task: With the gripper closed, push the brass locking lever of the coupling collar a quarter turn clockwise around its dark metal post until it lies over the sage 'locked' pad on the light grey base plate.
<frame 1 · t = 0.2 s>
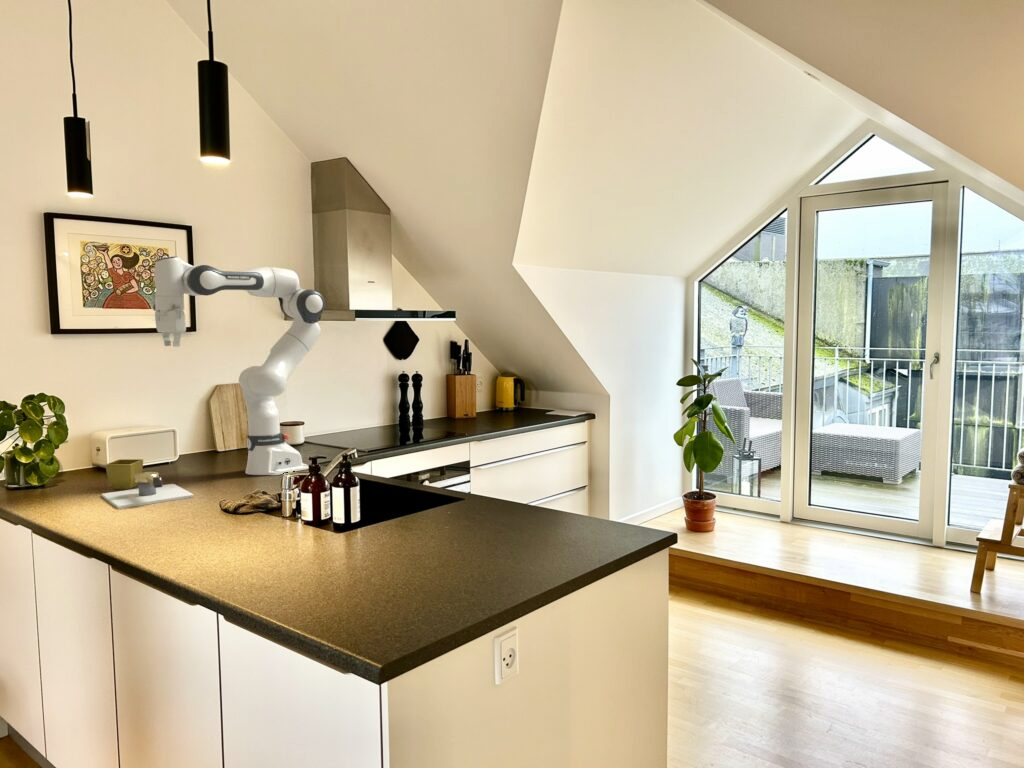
hand: (171, 346, 256), 47 cm above the countertop, fingers open, 8 cm apart
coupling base: (147, 496, 242), on the countertop
locking lever: (151, 478, 238), point 7 cm above the countertop, hinge at 0.0°
flower pot: (126, 488, 256), on the countertop
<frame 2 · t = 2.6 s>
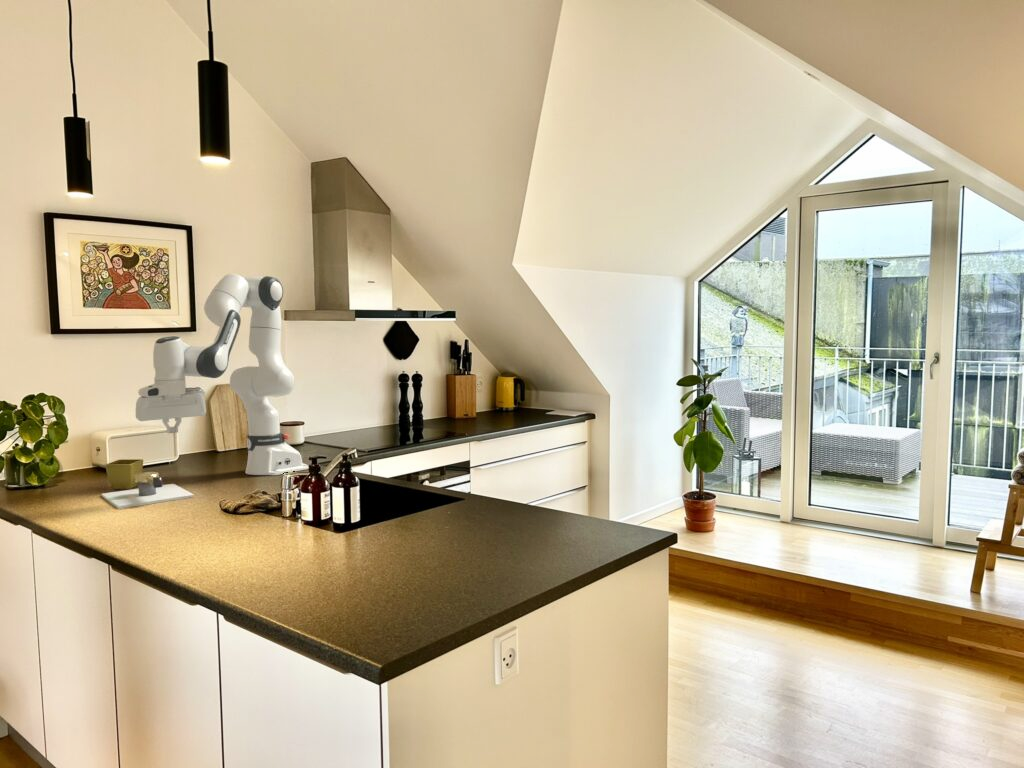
hand: (172, 432, 238), 21 cm above the countertop, fingers closed
nothing on the countertop moved.
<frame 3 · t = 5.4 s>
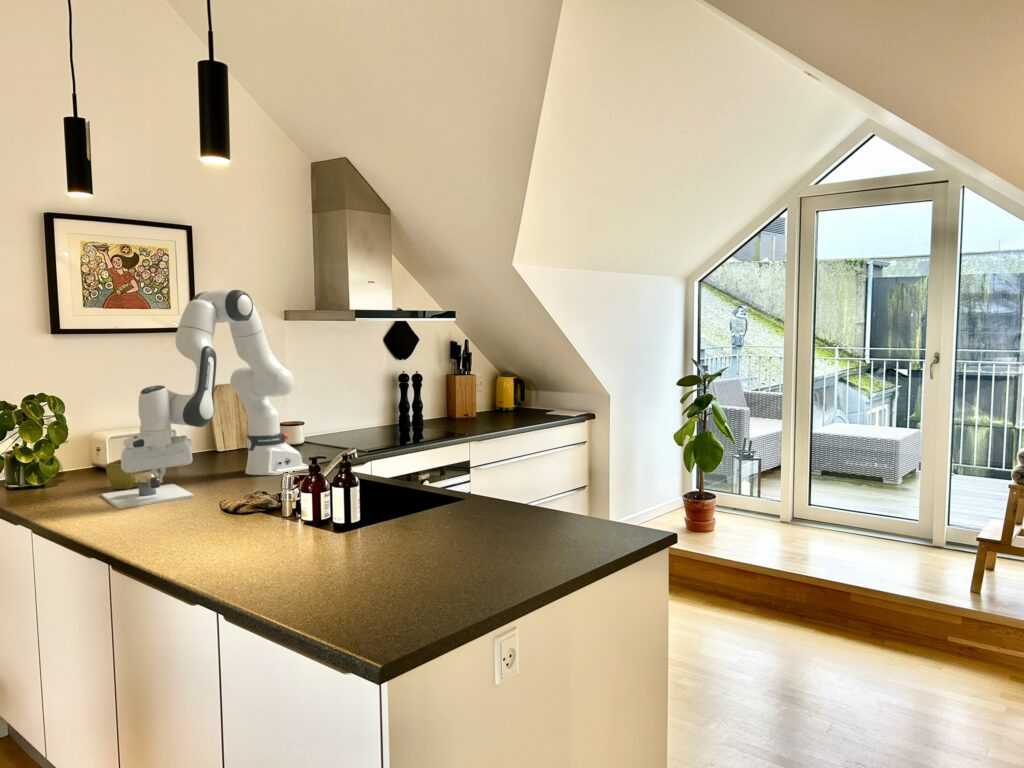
hand: (158, 482, 236), 6 cm above the countertop, fingers closed, pressing on locking lever
locking lever: (150, 478, 238), point 7 cm above the countertop, hinge at 3.5°, touching gripper
everything else where it was.
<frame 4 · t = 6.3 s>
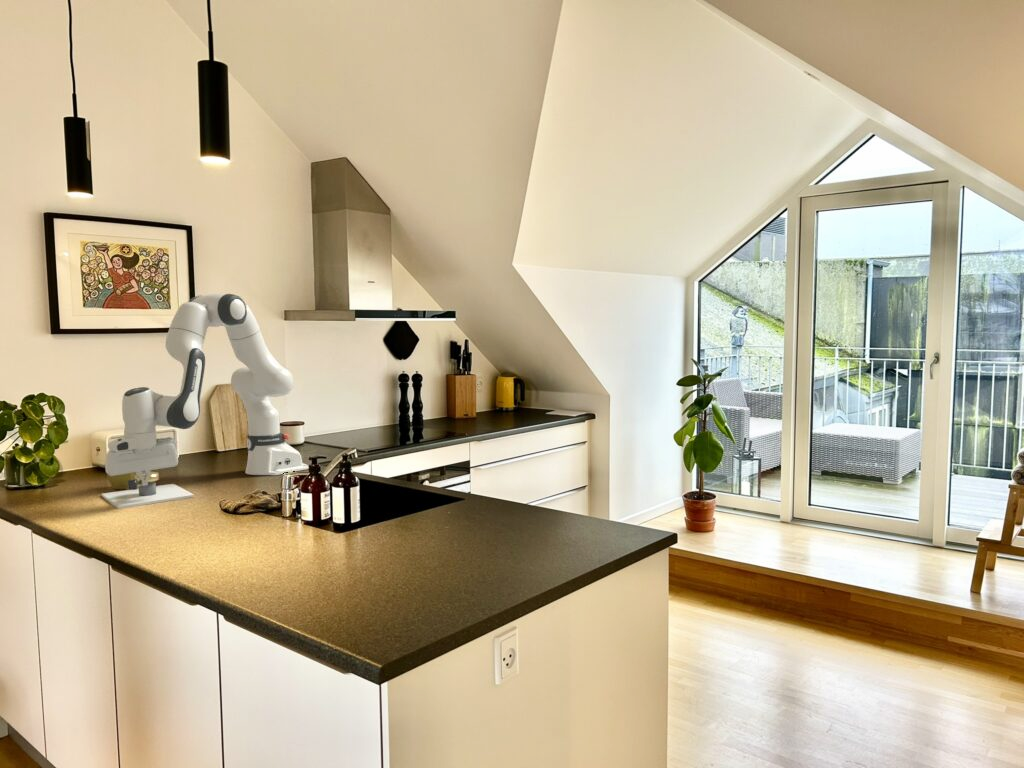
hand: (144, 485, 234), 6 cm above the countertop, fingers closed, pressing on locking lever
locking lever: (141, 479, 237), point 7 cm above the countertop, hinge at 32.0°, touching gripper
everything else where it was.
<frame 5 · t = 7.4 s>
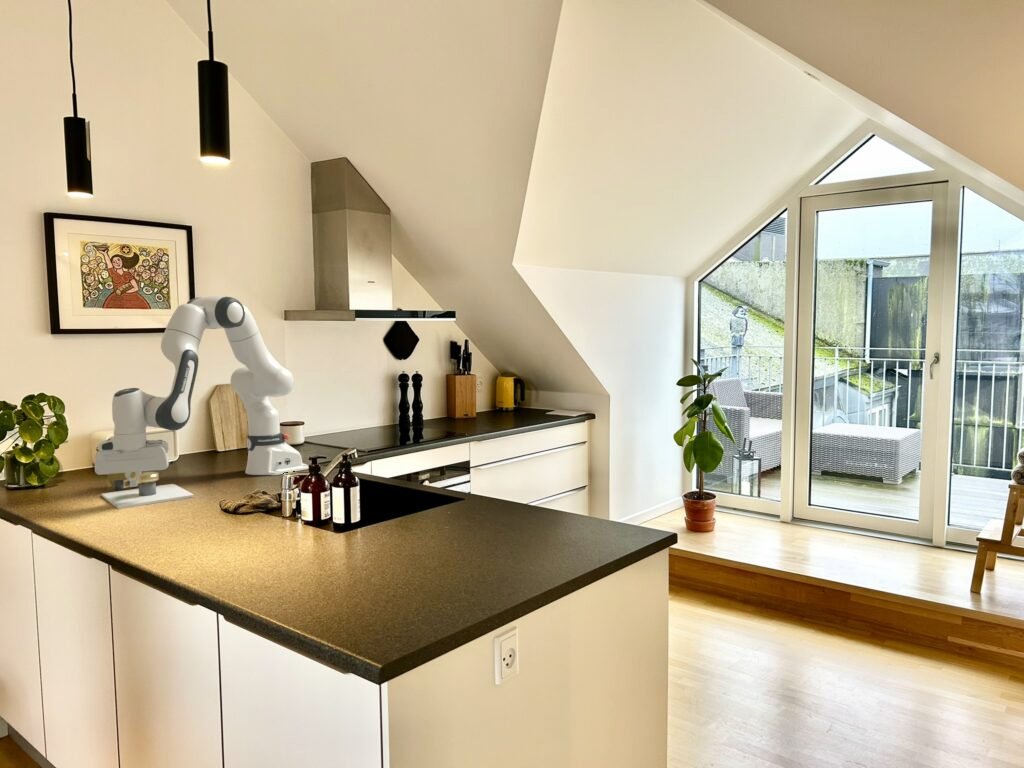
hand: (133, 486, 233), 5 cm above the countertop, fingers closed
locking lever: (135, 479, 237), point 7 cm above the countertop, hinge at 51.8°, touching gripper
everything else where it was.
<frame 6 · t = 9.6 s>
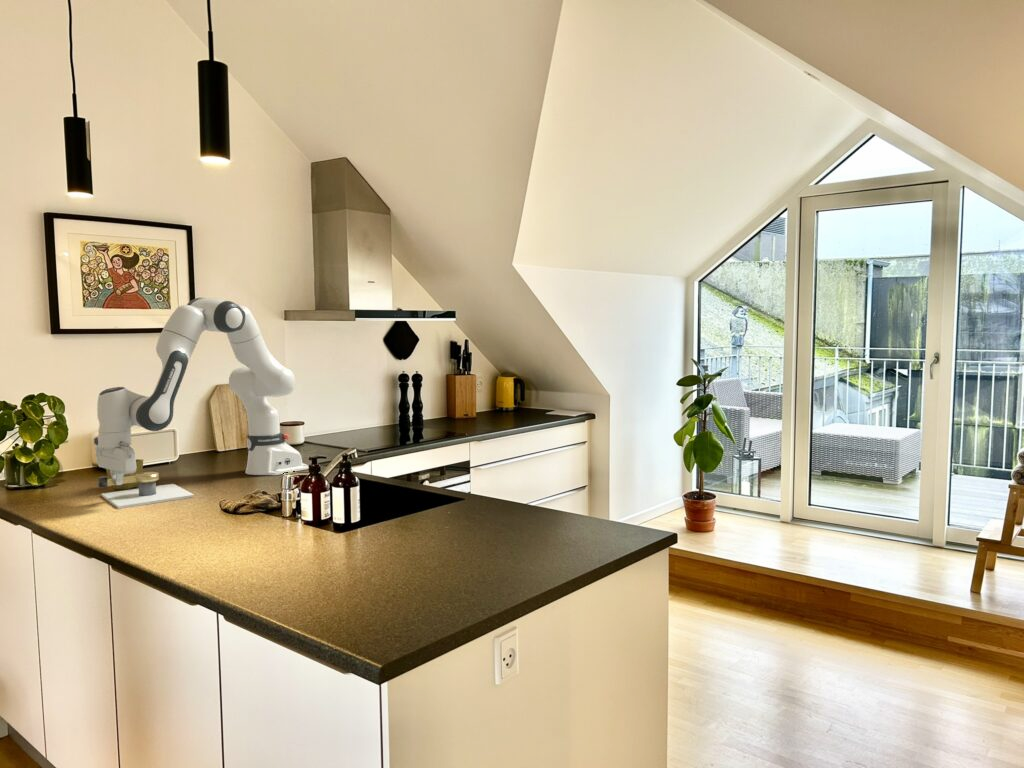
hand: (117, 484, 234), 6 cm above the countertop, fingers closed
locking lever: (129, 478, 239), point 7 cm above the countertop, hinge at 89.7°, touching gripper
everything else where it was.
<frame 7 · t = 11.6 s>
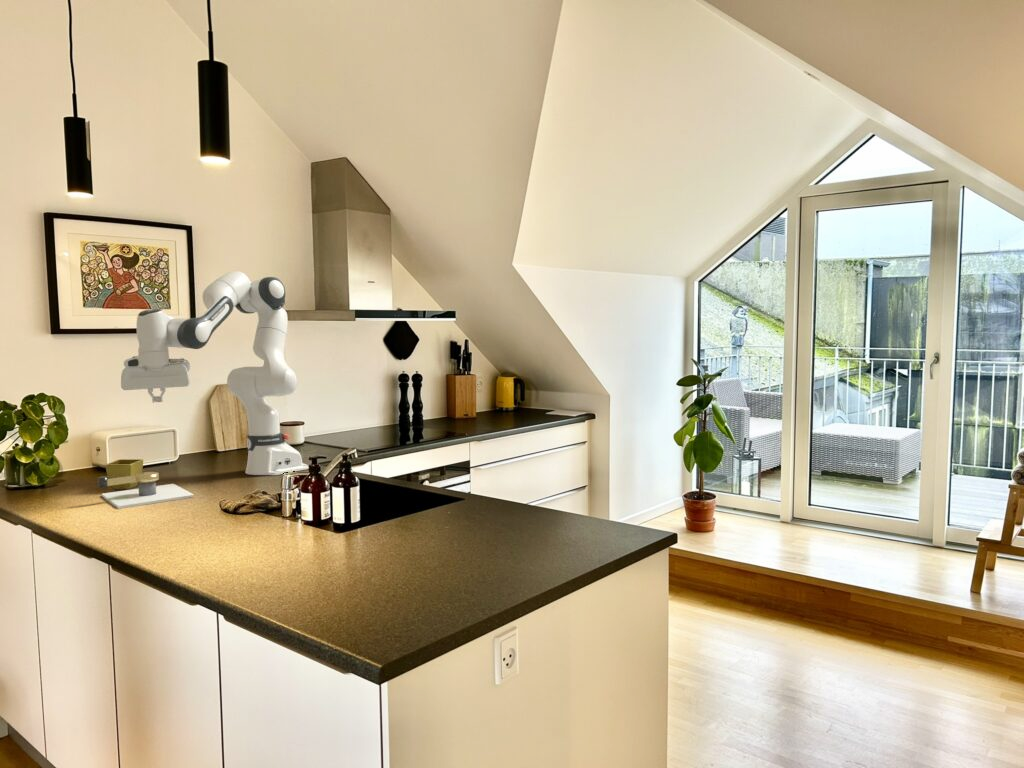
hand: (157, 402, 247), 30 cm above the countertop, fingers closed
locking lever: (129, 478, 239), point 7 cm above the countertop, hinge at 89.7°
everything else where it was.
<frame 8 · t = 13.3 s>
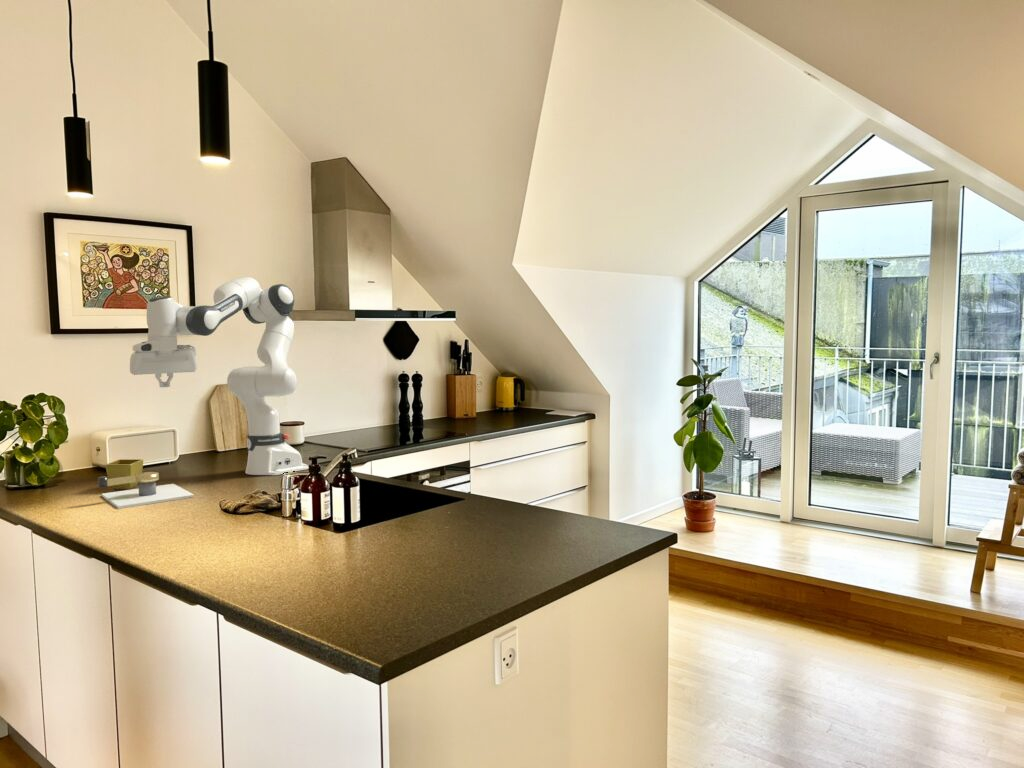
hand: (164, 387, 251), 34 cm above the countertop, fingers closed
nothing on the countertop moved.
at the end: locking lever at +90° (first picture: +0°) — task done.
